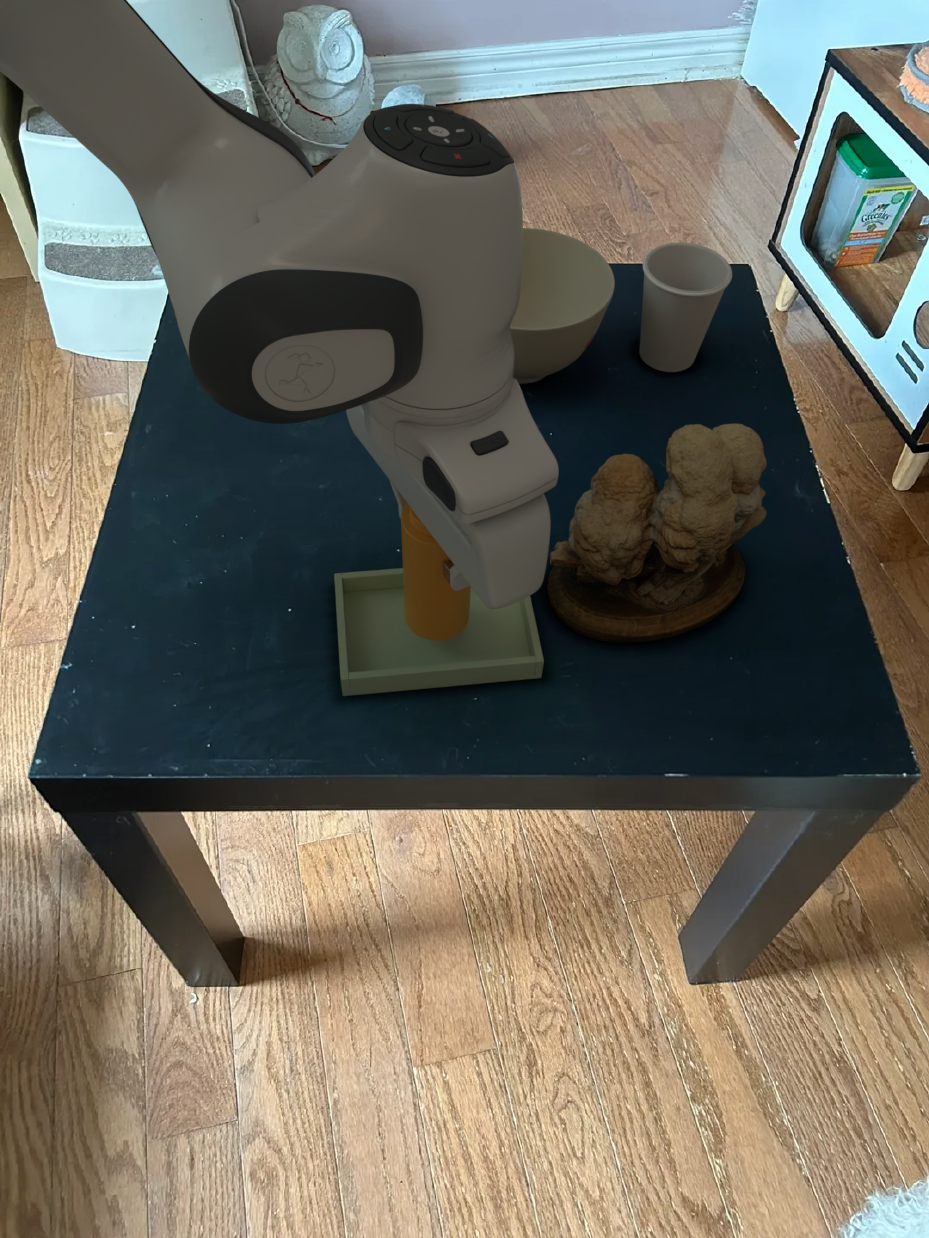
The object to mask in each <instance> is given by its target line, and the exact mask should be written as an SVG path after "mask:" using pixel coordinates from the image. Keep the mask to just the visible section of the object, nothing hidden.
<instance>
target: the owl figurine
mask: <svg viewBox="0 0 929 1238" xmlns="http://www.w3.org/2000/svg"><path fill="white" fill-rule="evenodd" d="M763 444H764V443H763V441H762V439H761V436H760V435H759V434H758V433H757V432H756V431H755V430H754V429H753V428H751V427H748V426H746V425H745V424H742V423H723V424H721V425H718V426H715V427H713V428H712V429H711V428H709V427H707V426H705V425H702V424H700V423H694V424H685V425H684V426H682V427H680V428H677V429H676V430H674V431H673V432H672V433H671V437H669V438H668V442H667V445H666V449H665V450H666V451H665V454H666V455H665V457H666V459H665V460H666V461H665V462H666V463H665V467H666V473H667V474H668V475H667V476H668V478H667V479H665V480H664V482H663V486H662V488H660V486H659V482H658V479H657V478H655V473H654V472H653V471H652V469H651V467H650V466H649V465H648V464H647V463H646V462H645V461H644V460H643V459H641V458H640V457H639V456H638V455H635V454H632V453H622V454H615V455H612V456H610V457H609V458H608V459H606V460H605V462H604V464H602V465H601V466H600V467H599V468H598V469H597V472H596V473H595V474H594V475H593V476H592V477H591V480H590V488H589V490H587V491H585V492H583V493H582V495H581V496H580V498H579V499H578V500H577V502H576V504H575V506H574V513H573V517H572V518H571V520H570V522H569V526H568V527H569V528H568V529H569V530H568V531H569V532H568V533H569V537H568V540H563V541H557V542H556V543H555V545H554V550H553V551H551V552H550V553H549V565H550V566H552V568H551V570H550V571H549V575H548V579H547V587H546V592H547V594H546V595H547V598H548V602H549V603H550V605H549V606H551V609H552V610H553V612H554V613H555V616H557V617H558V618H559V620H560V621H561V623H563V624H565V625H566V626H567V627H568V628H570V629H571V630H573V631H574V632H575V633H577V634H579V635H582V636H583V637H587V638H590V639H592V640H598V641H602V642H612V643H620V644H622V643H625V644H627V643H650V642H657V641H661V640H666V639H669V638H672V637H676V636H679V635H682V634H686V633H687V632H690V631H692V630H696V629H699V628H700V627H703V626H704V625H707V624H708V623H710V622H711V621H713V620H714V619H716V618H717V617H718V616H720V615H721V614H723V612H725V610H727V609H728V608H729V607H730V606H731V605H732V604H733V602H734V601H735V600H736V599H737V597H738V596H739V594H740V591H741V590H742V587H743V585H744V583H745V577H746V566H745V562H744V559H743V556H742V554H741V552H740V551H739V549H738V548H737V546H736V545H734V542H738V541H740V540H741V539H742V538H743V537H744V536H745V535H746V534H748V532H751V530H753V529H754V528H756V527H758V526H760V525H761V524H762V523H763V521H764V520H766V517H767V514H768V513H767V510H766V509H765V507H764V506H762V501H763V498H764V497H765V496H766V494H767V493H766V491H765V490H764V489H763V488H762V487H761V486H760V484H759V483H760V482H759V481H760V479H761V476H762V473H763V472H764V471H765V470H766V468H767V459H766V456H765V449H764V445H763Z"/></svg>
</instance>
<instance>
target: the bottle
mask: <svg viewBox="0 0 929 1238" xmlns="http://www.w3.org/2000/svg"><path fill="white" fill-rule="evenodd" d="M400 531H401V532H400V533H401V552H402V553H401V557H402V558H401V559H402V568H403V585H404V611H405V620H406V623H407V625H408V627H409V628H410V629H411V630H412V631H413V632H414V633H415V634H416V635H418V636H420V637H422V638H424V639H428V640H435V641H439V640H446V639H450V638H452V637H455V636H456V635H458V634H459V633H461V632H462V631H463V630H464V628H465V627H466V625H467V624H468V621H469V614H470V594H471V586H468V587H466V588H464V589H461V590H459V591H454V590H453V588H452V587H451V586H450V584H449V583H448V581H447V580H446V579H445V577H444V576H443V573H444V570H443V563H444V562H446V561H448V560H450V558H449V557H448V556H447V554H446V553H445V552H444V551H443V549H442V548H441V547H440V545H439V544H438V543H437V541H436V540H435V539H434V538H433V536H432V535H431V534H430V532H429V531H428V530H427V528H426V527H425V526H424V524H423V523H422V522H421V520H420V519H419V518H418V517H417V515H416V514H415V513H414V511H413V510H412V509H411V507H410V506H409V505H408V503H407V504H406V505H405V507H404V508H403V510H402V514H401V519H400Z"/></svg>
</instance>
